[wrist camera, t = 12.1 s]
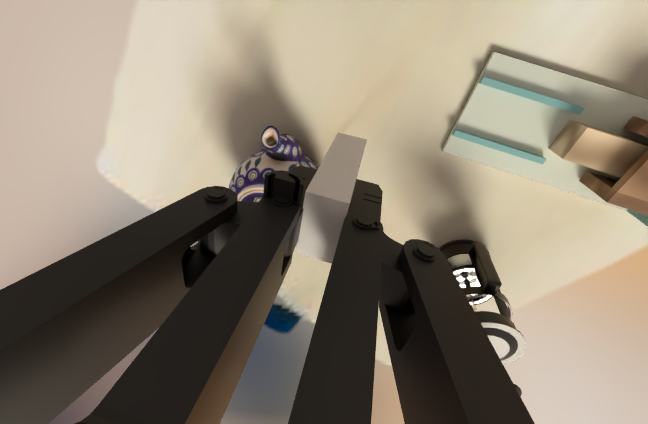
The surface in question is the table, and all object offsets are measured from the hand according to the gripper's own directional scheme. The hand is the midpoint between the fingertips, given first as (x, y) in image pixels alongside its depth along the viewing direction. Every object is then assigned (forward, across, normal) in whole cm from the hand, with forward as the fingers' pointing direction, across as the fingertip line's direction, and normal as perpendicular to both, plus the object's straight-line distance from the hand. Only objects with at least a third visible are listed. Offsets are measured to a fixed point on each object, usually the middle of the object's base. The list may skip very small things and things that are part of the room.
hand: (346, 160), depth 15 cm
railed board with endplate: (+29, +27, -1) cm, 39 cm away
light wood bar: (+28, +31, -1) cm, 42 cm away
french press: (+29, +23, -25) cm, 44 cm away
